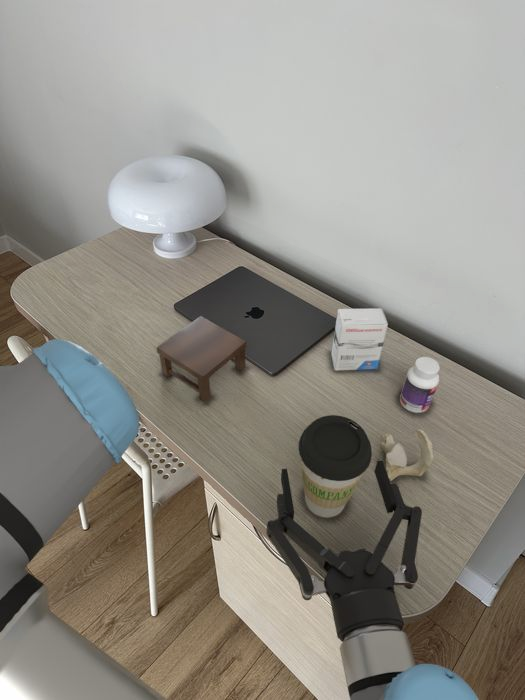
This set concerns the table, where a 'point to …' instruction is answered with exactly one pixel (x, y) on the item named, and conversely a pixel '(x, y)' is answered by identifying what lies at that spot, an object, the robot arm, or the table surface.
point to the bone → (398, 458)
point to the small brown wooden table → (201, 353)
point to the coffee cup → (332, 462)
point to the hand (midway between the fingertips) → (331, 469)
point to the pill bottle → (420, 385)
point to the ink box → (358, 338)
